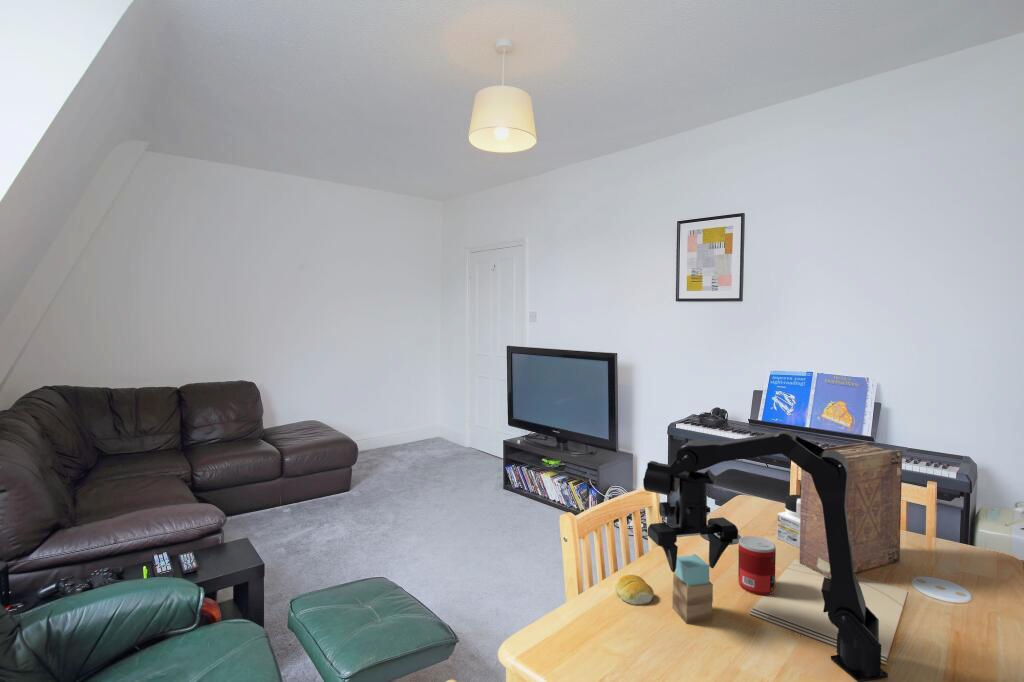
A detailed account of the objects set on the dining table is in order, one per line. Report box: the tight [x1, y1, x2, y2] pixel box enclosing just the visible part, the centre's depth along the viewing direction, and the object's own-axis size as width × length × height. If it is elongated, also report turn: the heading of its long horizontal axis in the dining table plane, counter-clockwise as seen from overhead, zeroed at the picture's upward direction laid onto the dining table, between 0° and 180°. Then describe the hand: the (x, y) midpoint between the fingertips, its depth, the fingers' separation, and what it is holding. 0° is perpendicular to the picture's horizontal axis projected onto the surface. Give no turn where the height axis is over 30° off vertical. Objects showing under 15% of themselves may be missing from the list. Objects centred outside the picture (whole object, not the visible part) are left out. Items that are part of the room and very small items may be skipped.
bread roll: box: [615, 574, 654, 606], centre depth 121 cm, size 8×9×4 cm
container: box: [776, 494, 801, 549], centre depth 148 cm, size 8×8×13 cm
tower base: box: [671, 590, 713, 625], centre depth 112 cm, size 6×6×4 cm
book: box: [799, 441, 903, 579], centre depth 134 cm, size 25×9×30 cm, turn 111°
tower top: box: [672, 572, 714, 606], centre depth 112 cm, size 6×6×4 cm
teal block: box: [675, 554, 710, 586], centre depth 112 cm, size 5×5×4 cm
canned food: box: [737, 535, 777, 596], centre depth 123 cm, size 8×8×11 cm
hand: (692, 569), depth 112 cm, fingers open, 9 cm apart
